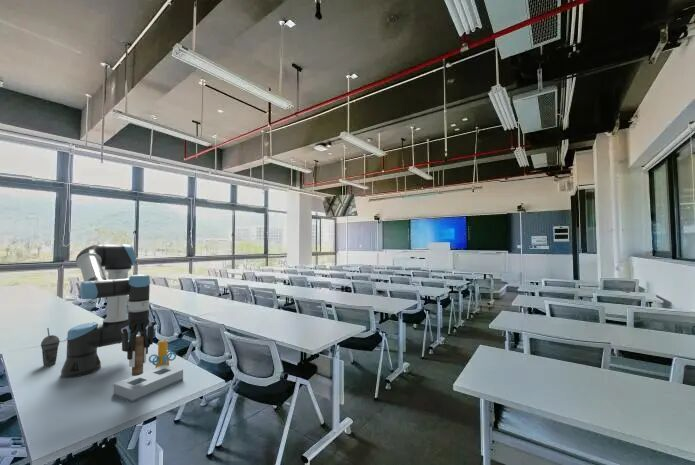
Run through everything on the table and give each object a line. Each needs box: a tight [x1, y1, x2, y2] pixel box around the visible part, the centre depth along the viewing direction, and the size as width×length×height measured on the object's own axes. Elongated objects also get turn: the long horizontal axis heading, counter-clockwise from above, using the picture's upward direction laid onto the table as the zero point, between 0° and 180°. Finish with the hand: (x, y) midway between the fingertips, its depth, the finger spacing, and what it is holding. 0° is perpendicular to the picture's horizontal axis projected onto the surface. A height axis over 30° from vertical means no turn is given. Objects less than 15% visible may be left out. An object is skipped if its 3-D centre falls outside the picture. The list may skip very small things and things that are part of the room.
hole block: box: [112, 365, 184, 404], centre depth 133 cm, size 14×22×5 cm, turn 155°
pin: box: [131, 334, 144, 377], centre depth 129 cm, size 4×4×16 cm
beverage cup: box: [40, 327, 61, 367], centre depth 159 cm, size 7×7×20 cm
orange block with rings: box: [148, 339, 177, 368], centre depth 152 cm, size 12×10×15 cm
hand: (137, 364), depth 128 cm, fingers closed on pin, 4 cm apart
